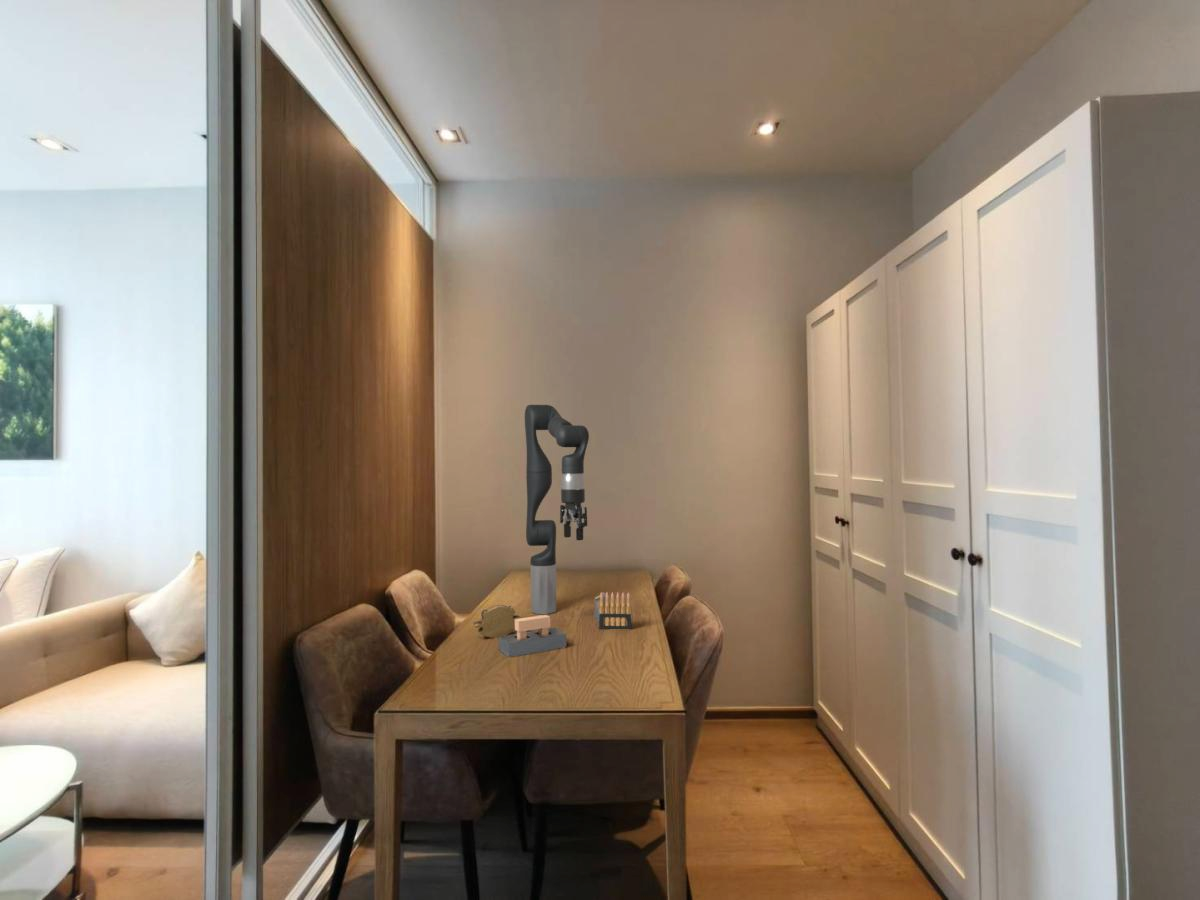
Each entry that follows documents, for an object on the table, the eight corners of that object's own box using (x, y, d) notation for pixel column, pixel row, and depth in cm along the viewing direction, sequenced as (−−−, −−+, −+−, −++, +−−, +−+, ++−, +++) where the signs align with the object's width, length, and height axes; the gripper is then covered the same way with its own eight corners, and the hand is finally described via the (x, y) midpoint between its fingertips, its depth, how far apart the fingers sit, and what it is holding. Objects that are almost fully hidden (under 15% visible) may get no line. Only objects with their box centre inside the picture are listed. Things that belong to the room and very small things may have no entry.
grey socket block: (498, 650, 187) (498, 636, 187) (554, 640, 196) (554, 627, 196) (509, 657, 180) (508, 643, 180) (566, 647, 189) (566, 633, 189)
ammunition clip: (632, 628, 209) (631, 591, 209) (631, 629, 207) (631, 592, 207) (599, 627, 210) (599, 591, 210) (598, 629, 208) (598, 592, 209)
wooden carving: (519, 631, 207) (519, 600, 208) (525, 634, 204) (525, 602, 204) (471, 639, 199) (471, 607, 199) (477, 642, 195) (476, 609, 195)
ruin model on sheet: (603, 622, 218) (602, 594, 219) (594, 622, 219) (594, 593, 219) (609, 614, 230) (609, 587, 230) (601, 614, 230) (600, 587, 230)
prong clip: (515, 646, 186) (514, 619, 187) (546, 641, 191) (545, 614, 192) (519, 649, 184) (518, 621, 184) (550, 644, 189) (550, 616, 189)
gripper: (552, 487, 208) (553, 537, 208) (572, 489, 196) (573, 542, 196) (573, 486, 212) (573, 535, 212) (594, 488, 200) (594, 540, 200)
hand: (573, 538), depth 204 cm, fingers open, 8 cm apart
